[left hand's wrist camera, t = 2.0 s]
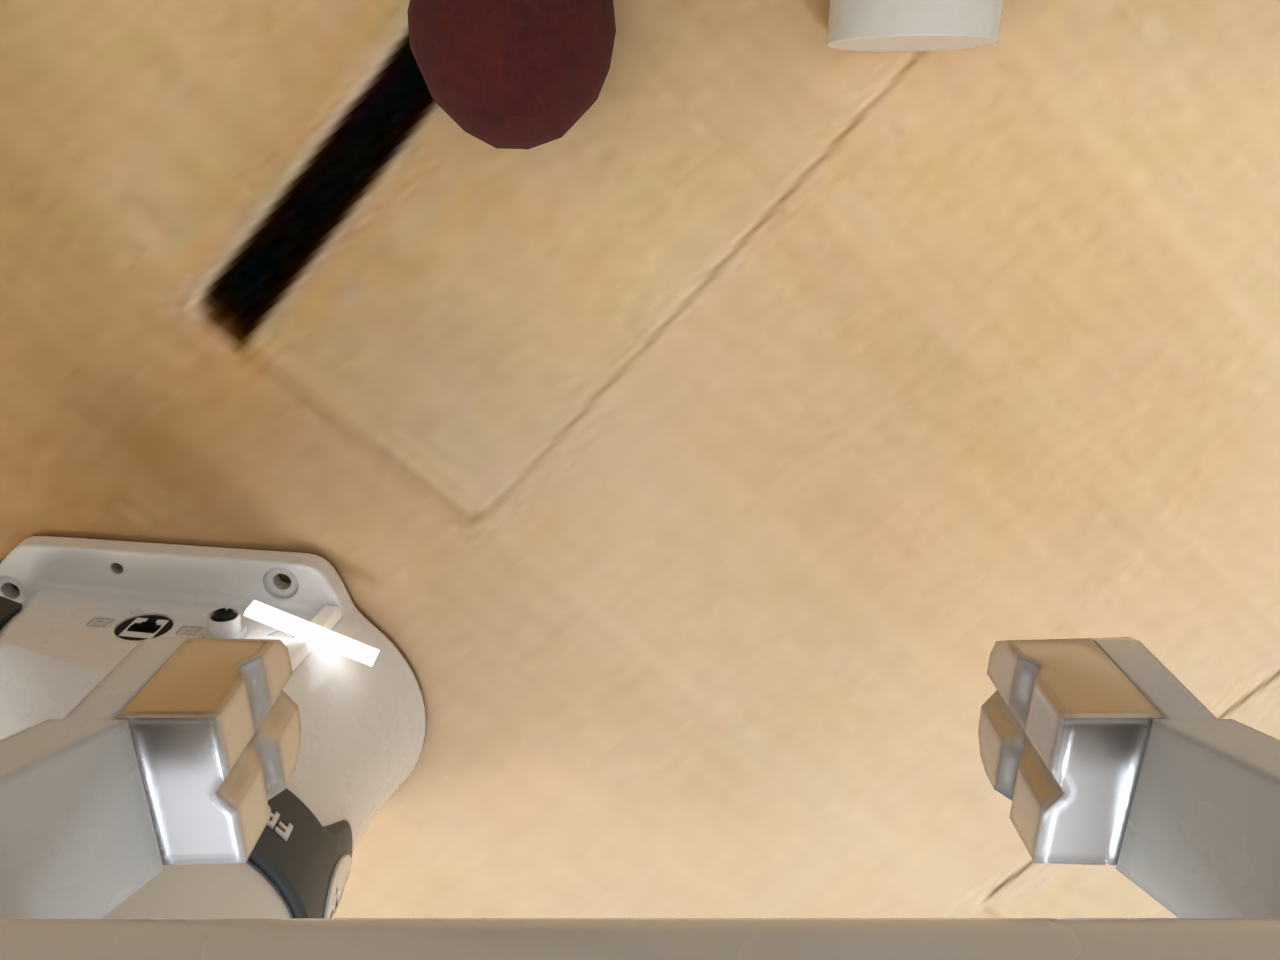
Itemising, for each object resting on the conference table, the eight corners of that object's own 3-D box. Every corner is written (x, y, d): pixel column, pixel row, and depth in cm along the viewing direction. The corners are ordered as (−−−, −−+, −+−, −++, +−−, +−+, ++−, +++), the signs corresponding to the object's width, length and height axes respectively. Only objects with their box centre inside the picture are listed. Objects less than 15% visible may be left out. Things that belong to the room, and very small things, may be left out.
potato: (637, -37, 34) (635, -78, 28) (592, 169, 37) (581, 176, 31) (448, -91, 34) (401, -145, 27) (417, 123, 37) (367, 120, 30)
